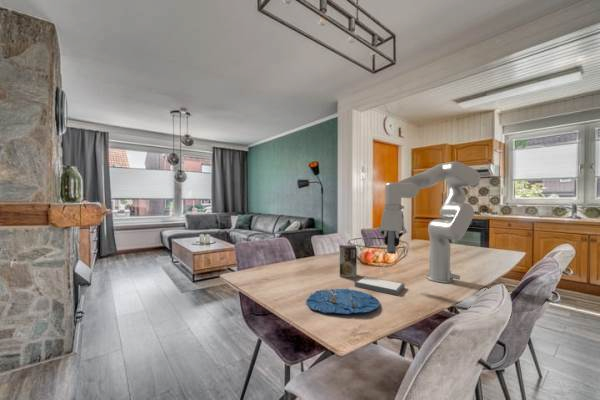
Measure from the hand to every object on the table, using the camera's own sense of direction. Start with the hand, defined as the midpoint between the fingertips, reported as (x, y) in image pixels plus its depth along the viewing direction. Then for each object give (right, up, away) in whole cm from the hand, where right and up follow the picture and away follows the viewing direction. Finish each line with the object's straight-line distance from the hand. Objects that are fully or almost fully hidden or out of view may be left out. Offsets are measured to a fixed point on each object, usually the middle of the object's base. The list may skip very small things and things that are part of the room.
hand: (391, 245), depth 126 cm
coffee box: (-19, -20, +15) cm, 31 cm away
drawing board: (-7, -20, -3) cm, 21 cm away
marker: (0, -4, 0) cm, 4 cm away
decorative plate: (-28, -20, -21) cm, 40 cm away
